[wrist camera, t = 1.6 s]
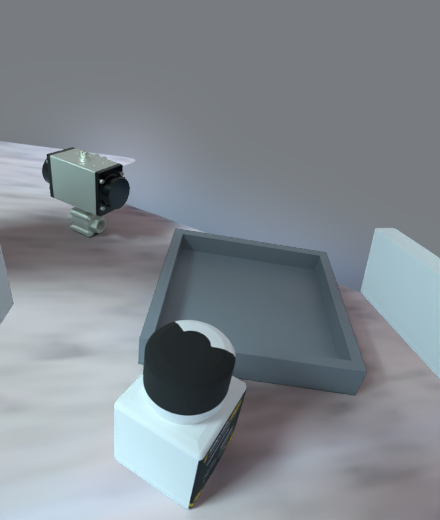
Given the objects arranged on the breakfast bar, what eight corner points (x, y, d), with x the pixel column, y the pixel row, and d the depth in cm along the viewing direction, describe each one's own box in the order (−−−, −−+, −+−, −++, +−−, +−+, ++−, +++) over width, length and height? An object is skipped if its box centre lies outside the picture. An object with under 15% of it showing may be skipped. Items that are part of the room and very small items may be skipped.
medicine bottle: (189, 513, 28) (212, 411, 21) (112, 459, 30) (111, 352, 23) (233, 436, 33) (262, 336, 27) (165, 396, 35) (177, 295, 29)
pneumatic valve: (108, 250, 54) (107, 168, 47) (46, 222, 57) (37, 143, 51) (133, 234, 58) (135, 158, 52) (74, 210, 62) (69, 135, 55)
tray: (138, 363, 38) (139, 338, 36) (173, 249, 56) (175, 228, 55) (354, 395, 39) (366, 372, 37) (319, 272, 57) (326, 252, 55)
